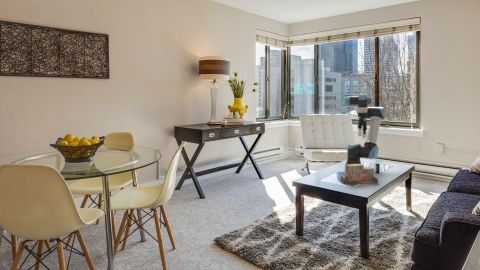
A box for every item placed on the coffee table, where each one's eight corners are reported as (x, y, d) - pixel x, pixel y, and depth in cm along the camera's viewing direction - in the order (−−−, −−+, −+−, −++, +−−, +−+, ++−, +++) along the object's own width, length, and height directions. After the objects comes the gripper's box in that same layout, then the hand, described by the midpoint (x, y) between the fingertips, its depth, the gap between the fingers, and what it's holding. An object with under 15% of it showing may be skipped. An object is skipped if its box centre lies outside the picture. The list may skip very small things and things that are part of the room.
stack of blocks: (370, 178, 276) (370, 163, 274) (374, 179, 270) (374, 164, 268) (345, 179, 273) (345, 164, 272) (348, 181, 267) (348, 165, 265)
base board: (340, 179, 278) (340, 174, 278) (373, 179, 276) (373, 175, 275) (343, 183, 266) (344, 178, 266) (378, 183, 264) (378, 178, 263)
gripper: (354, 111, 302) (353, 135, 304) (362, 113, 277) (361, 138, 280) (363, 111, 301) (362, 135, 304) (371, 113, 277) (370, 138, 279)
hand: (361, 137), depth 292 cm, fingers open, 13 cm apart
